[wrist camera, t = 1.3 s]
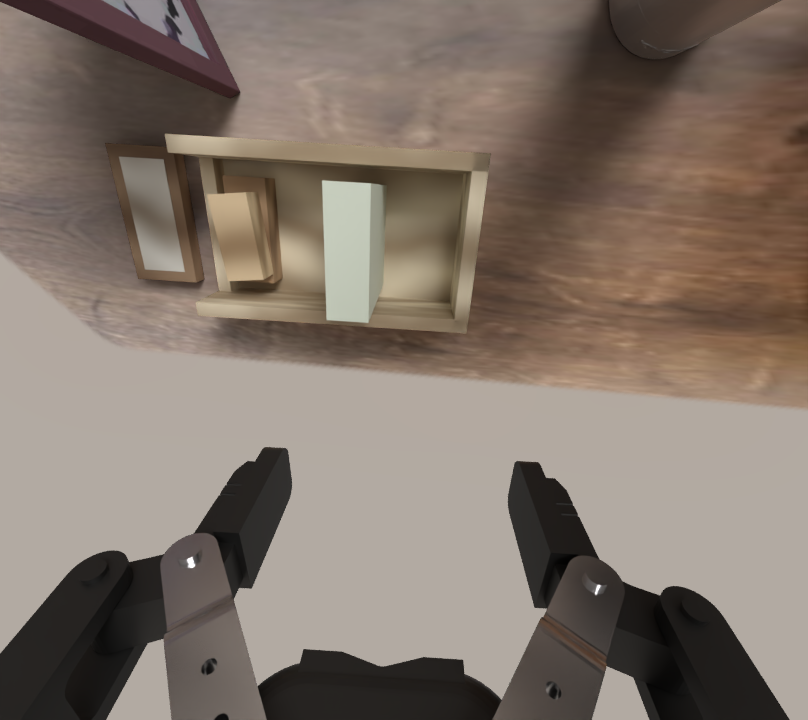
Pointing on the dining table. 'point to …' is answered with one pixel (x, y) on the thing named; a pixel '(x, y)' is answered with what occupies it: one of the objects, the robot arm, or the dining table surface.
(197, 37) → the picture frame
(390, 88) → the dining table surface
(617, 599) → the robot arm
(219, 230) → the offcut upper
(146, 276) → the board
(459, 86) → the dining table surface
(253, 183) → the offcut lower
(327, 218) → the pale green slanted prism
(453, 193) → the tray
